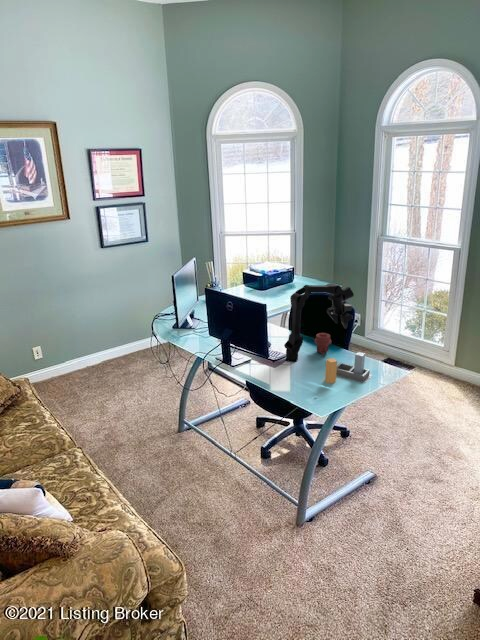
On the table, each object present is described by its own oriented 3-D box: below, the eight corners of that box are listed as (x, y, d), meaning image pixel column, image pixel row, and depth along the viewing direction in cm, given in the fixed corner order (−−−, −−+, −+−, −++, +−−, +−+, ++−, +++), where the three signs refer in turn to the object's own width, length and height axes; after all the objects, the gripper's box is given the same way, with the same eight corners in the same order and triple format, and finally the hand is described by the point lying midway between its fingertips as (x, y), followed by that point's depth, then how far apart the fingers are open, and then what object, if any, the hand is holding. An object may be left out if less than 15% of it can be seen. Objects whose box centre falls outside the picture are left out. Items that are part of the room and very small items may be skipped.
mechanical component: (329, 349, 292) (331, 355, 283) (313, 349, 292) (315, 355, 283) (330, 330, 288) (333, 336, 278) (314, 330, 288) (316, 336, 278)
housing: (329, 374, 259) (330, 368, 258) (338, 366, 268) (339, 360, 267) (364, 384, 248) (365, 378, 247) (372, 375, 258) (373, 369, 256)
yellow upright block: (323, 381, 252) (324, 359, 247) (330, 379, 255) (332, 357, 250) (329, 385, 248) (331, 363, 243) (337, 383, 250) (338, 360, 246)
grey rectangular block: (351, 376, 255) (353, 354, 251) (355, 372, 259) (357, 351, 255) (361, 379, 253) (363, 356, 248) (364, 375, 257) (366, 353, 252)
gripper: (358, 302, 274) (361, 326, 280) (339, 294, 290) (343, 316, 296) (342, 310, 270) (346, 333, 277) (324, 301, 286) (328, 323, 293)
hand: (341, 326), depth 286 cm, fingers open, 9 cm apart
